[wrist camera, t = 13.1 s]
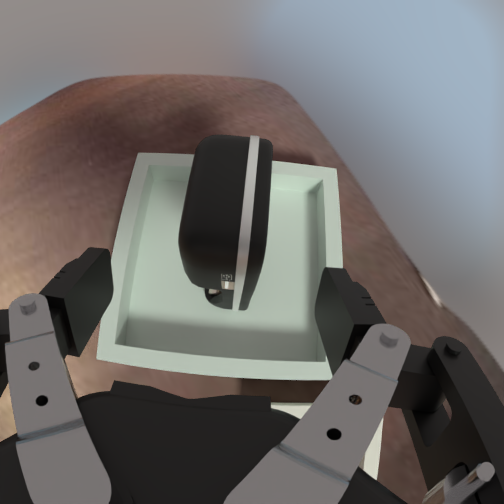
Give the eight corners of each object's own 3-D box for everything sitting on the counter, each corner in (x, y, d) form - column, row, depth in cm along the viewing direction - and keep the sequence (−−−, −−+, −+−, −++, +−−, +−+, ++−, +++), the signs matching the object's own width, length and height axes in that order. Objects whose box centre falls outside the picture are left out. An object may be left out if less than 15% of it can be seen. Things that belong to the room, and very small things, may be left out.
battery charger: (205, 220, 25) (194, 114, 14) (255, 225, 25) (275, 122, 14) (193, 309, 22) (163, 253, 12) (247, 315, 22) (266, 264, 12)
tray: (111, 360, 21) (96, 358, 18) (145, 173, 27) (138, 152, 24) (328, 378, 22) (342, 379, 19) (326, 187, 28) (336, 168, 25)
